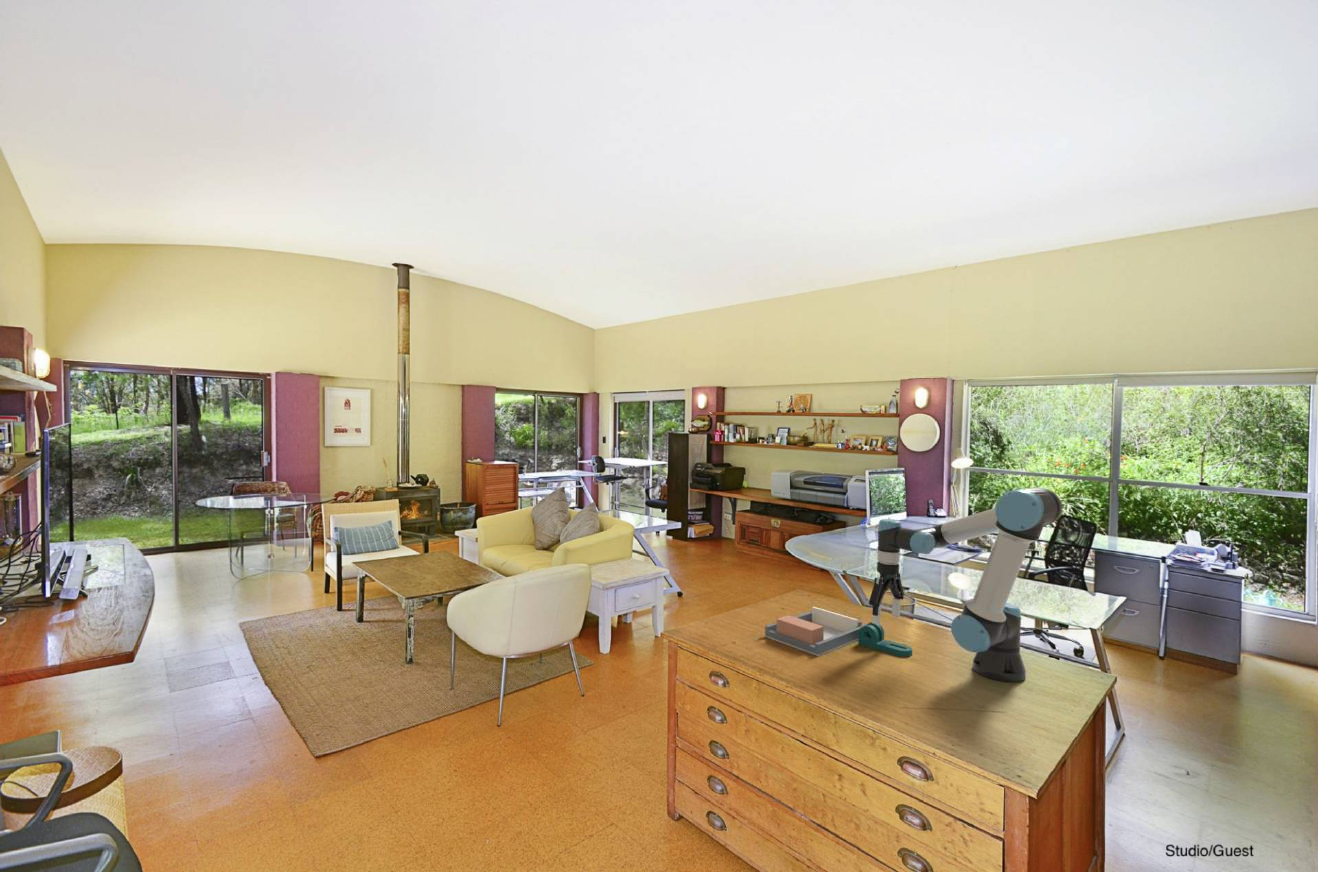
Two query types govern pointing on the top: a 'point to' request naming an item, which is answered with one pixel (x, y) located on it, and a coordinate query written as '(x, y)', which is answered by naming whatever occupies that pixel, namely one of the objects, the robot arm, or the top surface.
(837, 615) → the pusher plate
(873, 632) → the bracket
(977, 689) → the top surface
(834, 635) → the grey tray
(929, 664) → the top surface
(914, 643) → the top surface
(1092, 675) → the top surface
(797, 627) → the box
